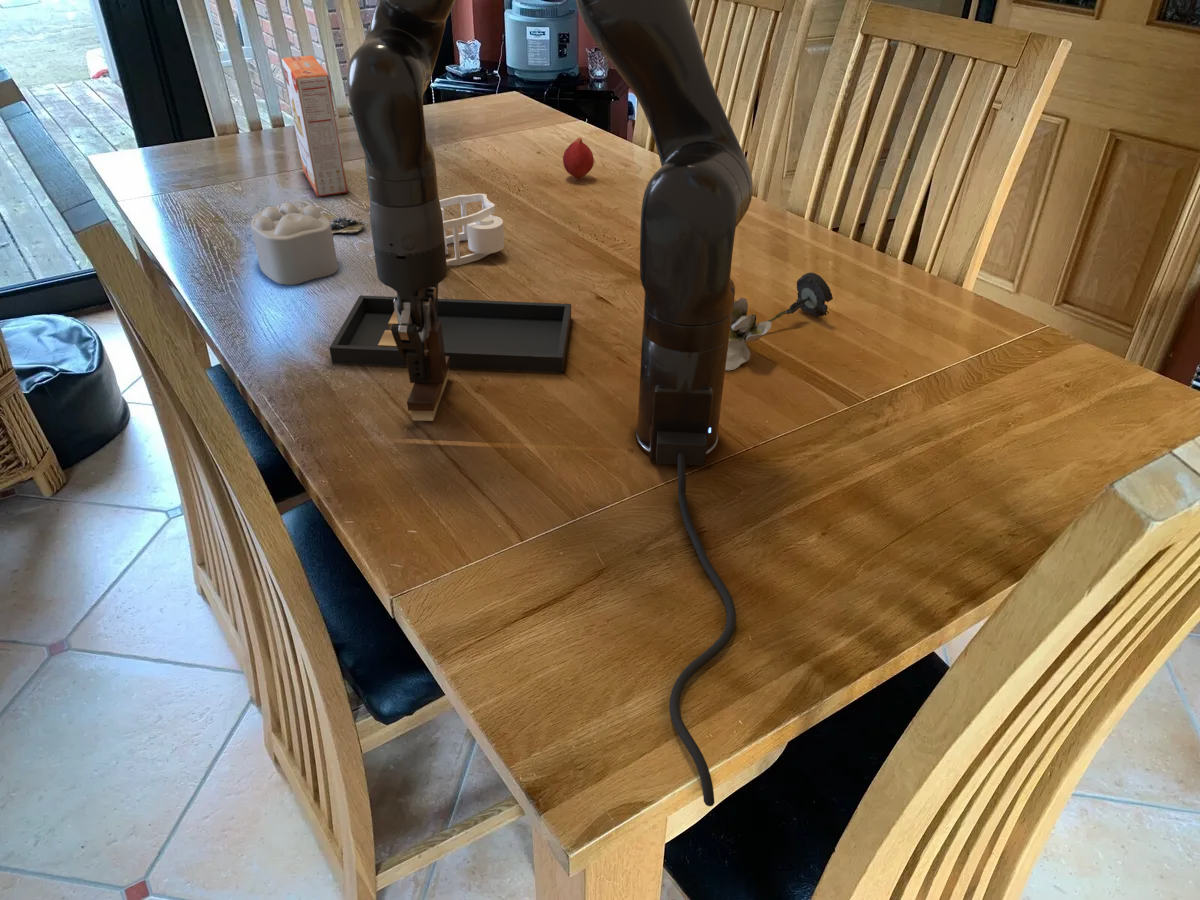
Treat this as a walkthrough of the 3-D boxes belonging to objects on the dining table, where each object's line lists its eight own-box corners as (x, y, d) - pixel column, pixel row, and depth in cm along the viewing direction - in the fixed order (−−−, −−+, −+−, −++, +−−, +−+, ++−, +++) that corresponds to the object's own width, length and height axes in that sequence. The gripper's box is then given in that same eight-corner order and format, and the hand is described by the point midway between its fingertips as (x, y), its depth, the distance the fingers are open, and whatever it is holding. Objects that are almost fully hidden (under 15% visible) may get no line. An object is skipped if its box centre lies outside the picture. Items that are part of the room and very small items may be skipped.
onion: (558, 182, 169) (558, 140, 165) (568, 172, 174) (568, 131, 169) (588, 186, 168) (588, 143, 163) (597, 176, 172) (597, 134, 168)
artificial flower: (838, 333, 127) (860, 281, 119) (716, 395, 118) (731, 343, 110) (796, 295, 131) (815, 242, 123) (675, 352, 122) (687, 299, 114)
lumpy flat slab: (368, 234, 148) (366, 223, 147) (318, 240, 146) (317, 229, 145) (361, 219, 153) (359, 208, 152) (313, 225, 151) (311, 214, 150)
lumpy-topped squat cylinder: (281, 288, 132) (269, 233, 126) (247, 258, 140) (234, 205, 134) (346, 270, 137) (337, 216, 132) (310, 242, 145) (300, 190, 140)
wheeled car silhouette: (412, 289, 132) (407, 243, 128) (374, 264, 139) (368, 219, 134) (520, 254, 143) (518, 210, 139) (479, 232, 150) (477, 189, 145)
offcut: (412, 357, 116) (411, 346, 115) (379, 355, 116) (377, 344, 115) (419, 341, 119) (418, 331, 118) (386, 340, 119) (385, 329, 118)
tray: (562, 376, 114) (562, 357, 112) (332, 366, 114) (329, 347, 113) (571, 321, 125) (571, 303, 124) (362, 313, 126) (359, 295, 124)
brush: (439, 422, 103) (429, 349, 97) (405, 421, 103) (393, 348, 97) (455, 374, 111) (447, 304, 106) (424, 374, 112) (414, 304, 106)
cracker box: (301, 173, 171) (280, 56, 158) (333, 169, 173) (314, 53, 160) (315, 198, 160) (293, 75, 148) (348, 193, 162) (330, 72, 150)
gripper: (389, 209, 101) (405, 343, 111) (356, 262, 90) (377, 405, 100) (455, 212, 101) (465, 346, 111) (430, 265, 89) (444, 408, 100)
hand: (423, 373), depth 105 cm, fingers closed on brush, 2 cm apart
